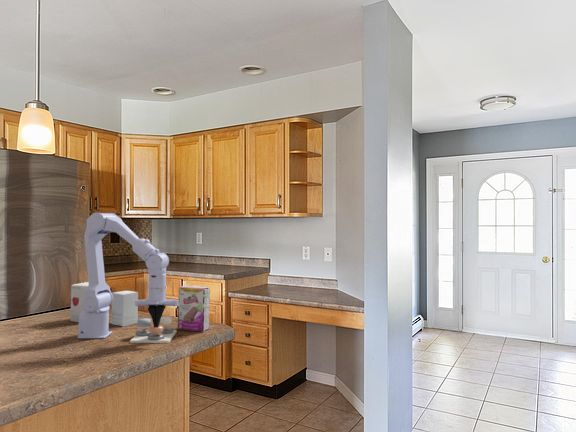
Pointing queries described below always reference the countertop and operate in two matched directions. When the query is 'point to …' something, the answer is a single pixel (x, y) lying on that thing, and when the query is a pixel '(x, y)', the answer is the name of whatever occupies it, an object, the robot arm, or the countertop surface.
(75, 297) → the supplement box
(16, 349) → the countertop surface
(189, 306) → the candy bar box
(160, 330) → the terracotta button
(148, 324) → the slate button
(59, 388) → the countertop surface
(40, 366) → the countertop surface
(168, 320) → the cream button
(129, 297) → the supplement box
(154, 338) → the panel
